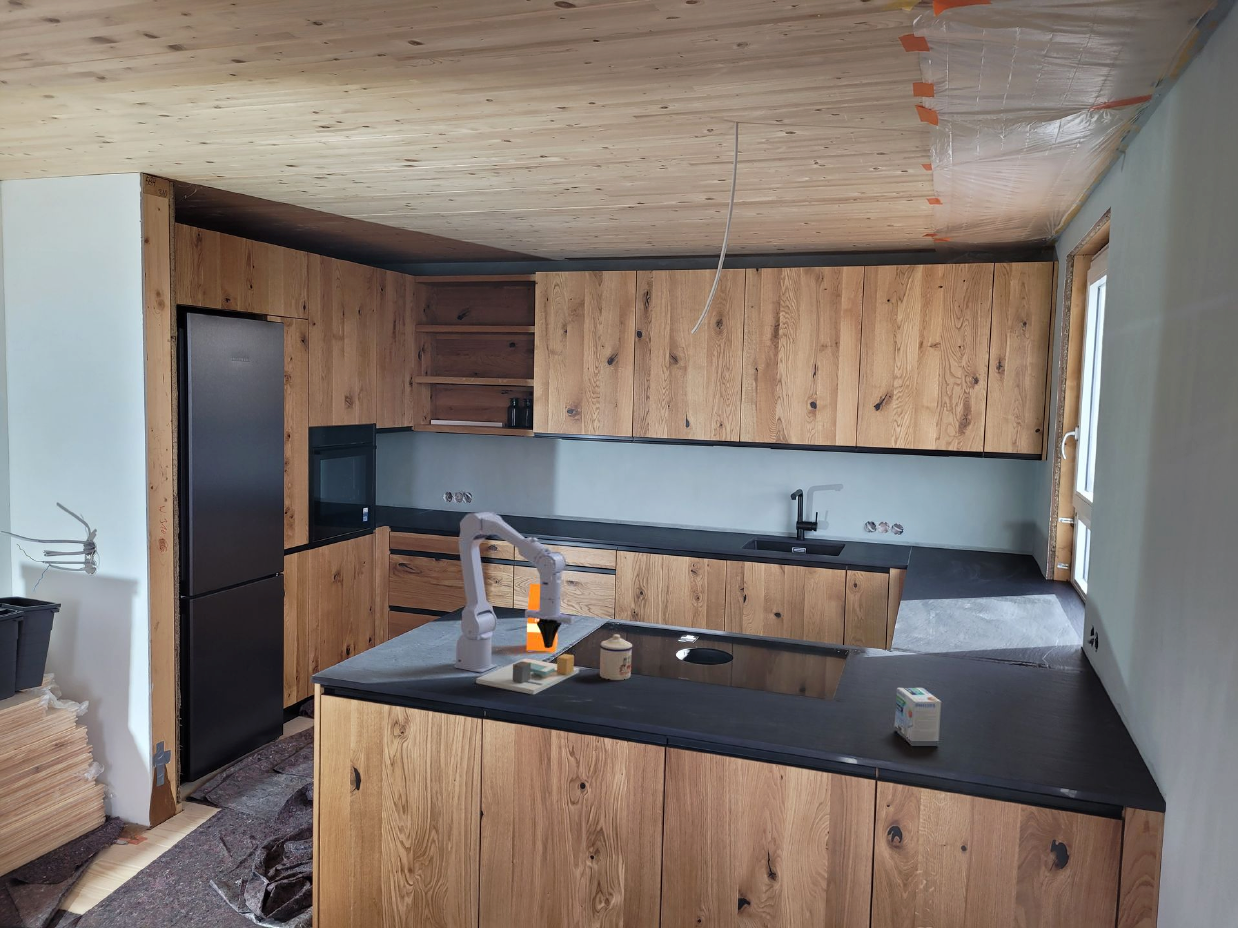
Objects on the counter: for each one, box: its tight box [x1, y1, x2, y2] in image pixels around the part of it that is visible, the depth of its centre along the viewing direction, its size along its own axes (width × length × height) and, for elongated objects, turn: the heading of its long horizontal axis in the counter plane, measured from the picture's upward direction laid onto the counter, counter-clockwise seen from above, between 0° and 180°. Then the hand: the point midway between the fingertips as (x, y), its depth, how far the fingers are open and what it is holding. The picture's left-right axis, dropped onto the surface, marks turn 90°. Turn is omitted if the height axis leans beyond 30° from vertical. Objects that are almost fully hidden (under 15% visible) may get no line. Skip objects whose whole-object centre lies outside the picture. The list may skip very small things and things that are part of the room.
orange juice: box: [526, 583, 559, 653], centre depth 282 cm, size 8×9×20 cm
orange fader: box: [556, 653, 575, 675], centre depth 253 cm, size 3×4×4 cm
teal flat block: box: [529, 662, 555, 676], centre depth 250 cm, size 8×4×1 cm, turn 63°
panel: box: [475, 658, 580, 696], centre depth 252 cm, size 18×24×2 cm
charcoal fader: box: [512, 661, 531, 683], centre depth 244 cm, size 3×4×4 cm
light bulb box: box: [894, 687, 942, 741], centre depth 214 cm, size 11×7×11 cm, turn 5°
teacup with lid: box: [599, 633, 633, 681], centre depth 257 cm, size 12×9×12 cm
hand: (548, 647), depth 248 cm, fingers closed
